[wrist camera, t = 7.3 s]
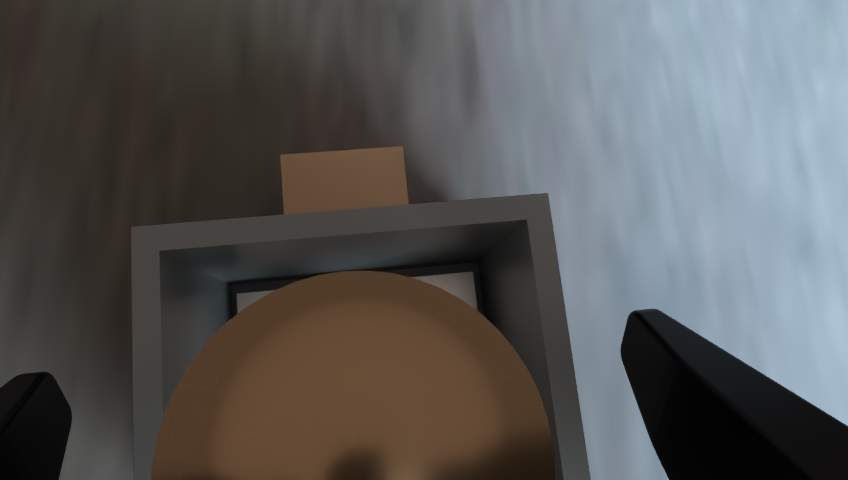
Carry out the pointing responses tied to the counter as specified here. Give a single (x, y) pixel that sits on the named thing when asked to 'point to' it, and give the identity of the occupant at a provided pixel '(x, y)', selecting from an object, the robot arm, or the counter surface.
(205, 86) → the counter surface
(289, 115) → the counter surface
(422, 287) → the plunger
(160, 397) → the grey open box
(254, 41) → the counter surface
